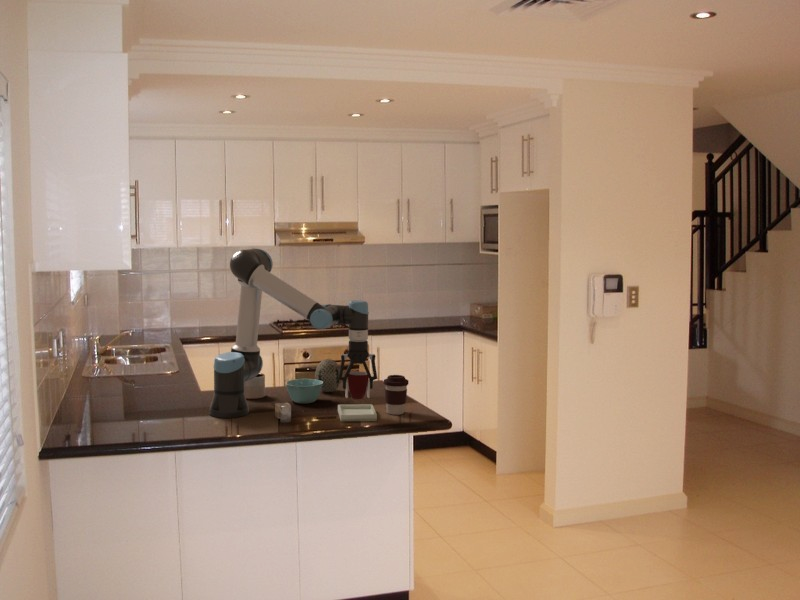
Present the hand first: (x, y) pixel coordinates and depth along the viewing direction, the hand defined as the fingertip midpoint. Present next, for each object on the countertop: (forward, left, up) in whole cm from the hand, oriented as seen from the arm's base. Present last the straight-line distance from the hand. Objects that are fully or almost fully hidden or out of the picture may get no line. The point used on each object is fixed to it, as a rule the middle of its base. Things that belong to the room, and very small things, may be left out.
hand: (357, 397), depth 324 cm
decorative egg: (-9, +43, -8) cm, 45 cm away
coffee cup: (+16, +4, -8) cm, 18 cm away
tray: (0, 0, -8) cm, 8 cm away
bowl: (-20, +26, -8) cm, 34 cm away
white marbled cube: (-29, 0, -8) cm, 30 cm away
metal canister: (-28, -7, -8) cm, 30 cm away
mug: (0, 0, 0) cm, 0 cm away
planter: (-42, +35, -8) cm, 55 cm away
